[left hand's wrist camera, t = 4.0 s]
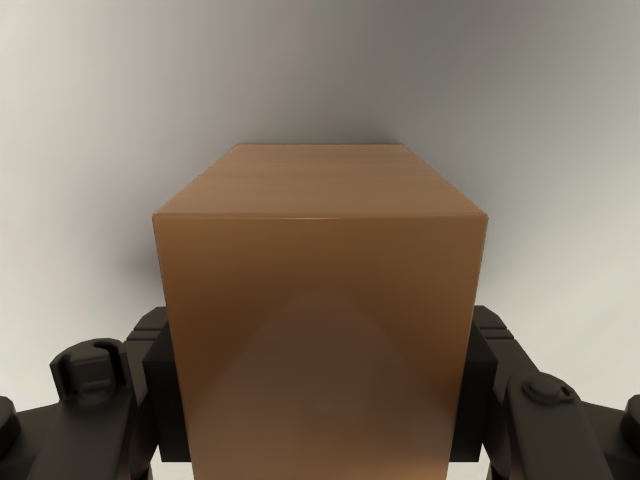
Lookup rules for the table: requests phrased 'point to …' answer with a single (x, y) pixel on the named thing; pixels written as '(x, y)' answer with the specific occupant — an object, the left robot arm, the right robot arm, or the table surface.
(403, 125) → the table surface
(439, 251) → the bar
